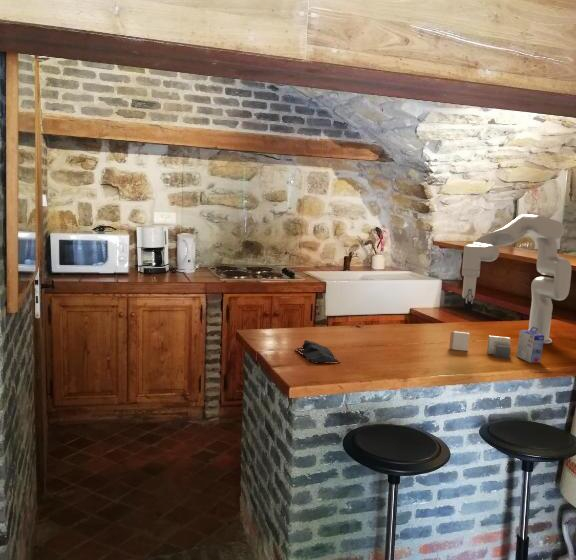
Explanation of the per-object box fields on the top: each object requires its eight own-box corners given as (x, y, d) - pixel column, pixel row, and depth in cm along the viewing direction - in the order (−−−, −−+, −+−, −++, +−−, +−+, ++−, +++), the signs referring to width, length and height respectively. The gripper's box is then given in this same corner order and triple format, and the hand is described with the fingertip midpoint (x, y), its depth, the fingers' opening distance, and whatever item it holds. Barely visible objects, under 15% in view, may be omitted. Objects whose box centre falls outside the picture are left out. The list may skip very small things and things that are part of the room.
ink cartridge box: (541, 363, 243) (545, 330, 240) (530, 363, 241) (534, 330, 239) (526, 355, 252) (530, 324, 250) (515, 356, 251) (519, 324, 248)
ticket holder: (486, 349, 259) (488, 333, 257) (507, 352, 256) (509, 335, 255) (487, 356, 249) (489, 338, 248) (509, 358, 247) (511, 340, 245)
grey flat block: (449, 347, 259) (450, 330, 257) (467, 349, 257) (469, 332, 255) (449, 348, 257) (450, 331, 256) (467, 350, 255) (469, 333, 254)
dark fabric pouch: (307, 366, 227) (307, 355, 226) (293, 350, 248) (293, 339, 247) (343, 365, 230) (343, 353, 230) (326, 349, 251) (327, 338, 251)
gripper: (461, 269, 261) (458, 305, 265) (462, 275, 245) (459, 313, 248) (478, 270, 259) (475, 306, 263) (480, 276, 243) (477, 315, 246)
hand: (467, 309), depth 255 cm, fingers open, 9 cm apart
